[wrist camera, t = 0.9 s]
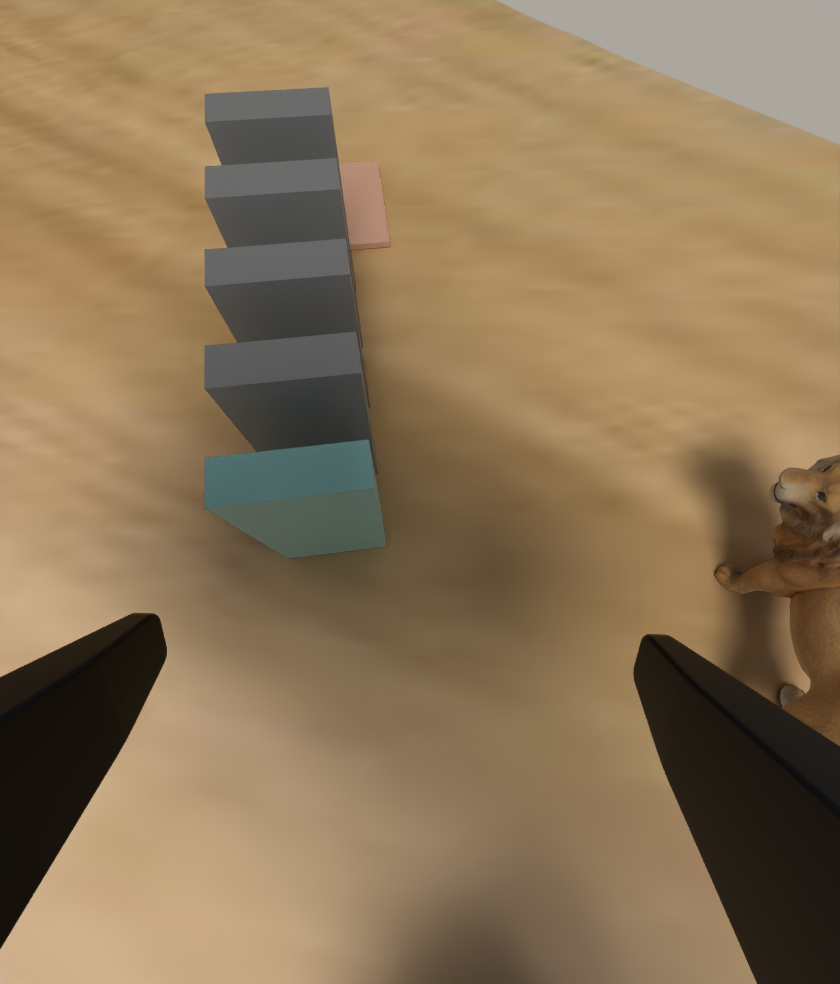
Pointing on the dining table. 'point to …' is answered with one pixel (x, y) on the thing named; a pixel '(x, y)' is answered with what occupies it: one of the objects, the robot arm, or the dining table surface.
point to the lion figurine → (806, 586)
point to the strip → (364, 205)
